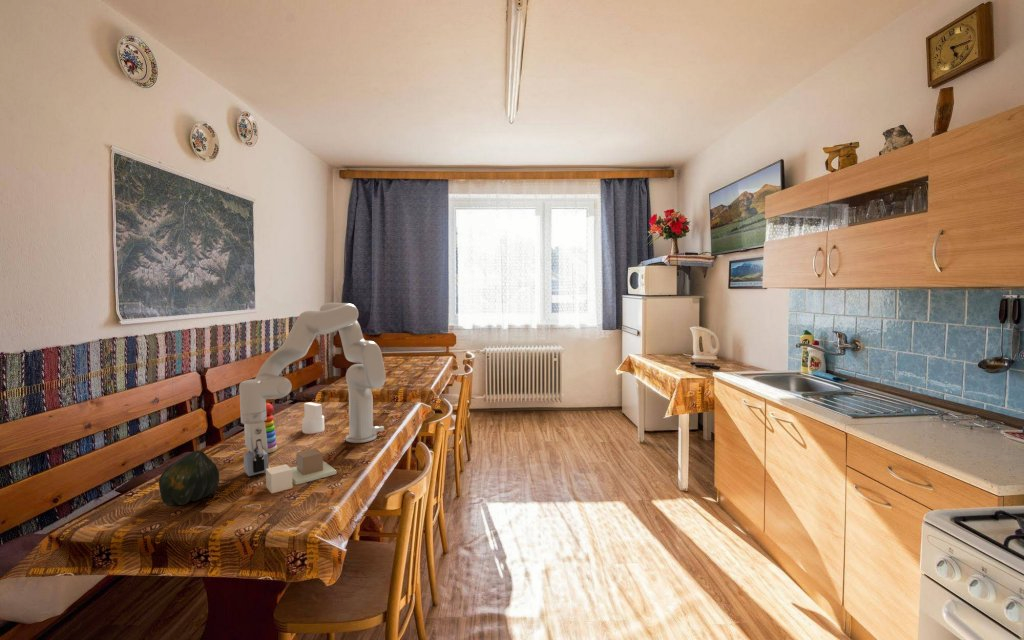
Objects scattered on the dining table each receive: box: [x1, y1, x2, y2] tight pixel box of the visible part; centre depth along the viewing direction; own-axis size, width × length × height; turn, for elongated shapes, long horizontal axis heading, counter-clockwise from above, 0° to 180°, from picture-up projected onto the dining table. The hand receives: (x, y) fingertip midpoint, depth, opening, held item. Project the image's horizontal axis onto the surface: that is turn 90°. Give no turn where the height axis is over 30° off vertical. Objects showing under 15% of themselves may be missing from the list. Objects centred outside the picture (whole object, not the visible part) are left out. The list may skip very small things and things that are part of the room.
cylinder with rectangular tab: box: [301, 401, 325, 435], centre depth 202 cm, size 9×9×12 cm
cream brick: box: [265, 463, 294, 494], centre depth 143 cm, size 6×6×6 cm
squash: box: [158, 449, 220, 507], centre depth 135 cm, size 14×15×15 cm
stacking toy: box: [262, 402, 278, 454], centre depth 175 cm, size 8×8×19 cm
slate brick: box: [243, 450, 269, 477], centre depth 154 cm, size 6×6×6 cm
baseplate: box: [290, 447, 337, 486], centre depth 154 cm, size 13×13×7 cm
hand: (256, 468), depth 154 cm, fingers closed on slate brick, 6 cm apart
